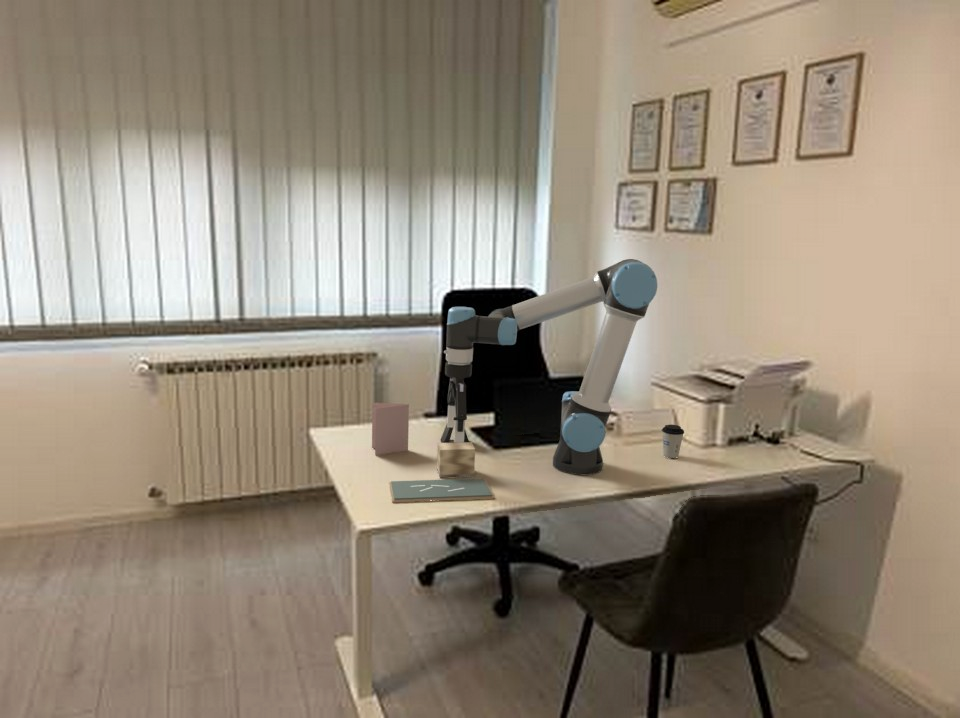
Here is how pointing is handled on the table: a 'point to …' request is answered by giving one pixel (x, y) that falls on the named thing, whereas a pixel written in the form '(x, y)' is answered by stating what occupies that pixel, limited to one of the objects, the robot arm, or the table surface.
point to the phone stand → (447, 435)
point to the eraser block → (456, 459)
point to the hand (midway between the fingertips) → (455, 434)
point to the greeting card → (390, 427)
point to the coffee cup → (672, 440)
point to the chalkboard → (439, 490)
